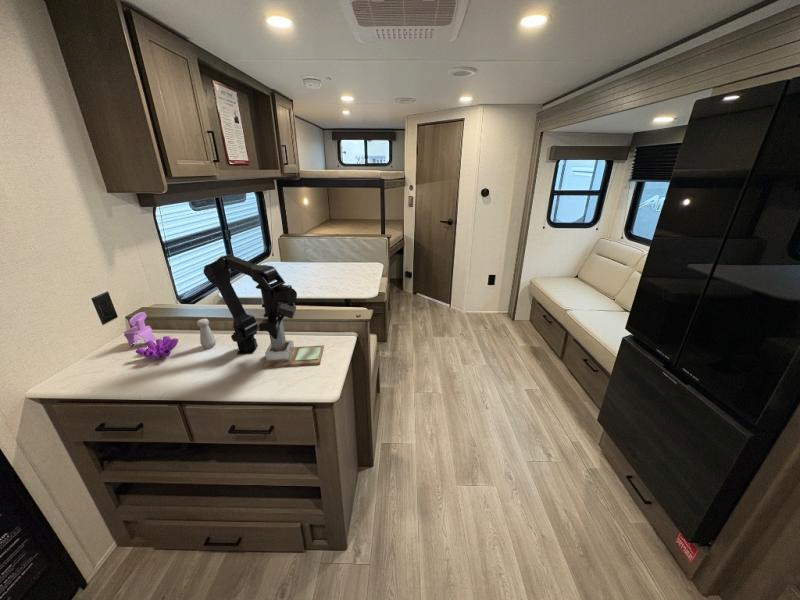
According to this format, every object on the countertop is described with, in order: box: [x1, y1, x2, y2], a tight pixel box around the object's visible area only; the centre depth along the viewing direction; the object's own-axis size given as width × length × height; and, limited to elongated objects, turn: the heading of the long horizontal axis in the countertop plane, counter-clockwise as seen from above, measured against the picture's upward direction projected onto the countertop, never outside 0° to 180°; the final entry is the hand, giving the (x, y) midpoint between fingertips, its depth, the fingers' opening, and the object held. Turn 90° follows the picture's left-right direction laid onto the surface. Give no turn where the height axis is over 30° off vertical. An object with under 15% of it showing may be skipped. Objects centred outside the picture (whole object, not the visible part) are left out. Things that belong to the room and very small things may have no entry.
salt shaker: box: [196, 318, 217, 350], centre depth 132 cm, size 6×6×13 cm
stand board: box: [262, 345, 325, 369], centre depth 127 cm, size 22×13×1 cm, turn 96°
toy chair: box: [123, 311, 158, 347], centre depth 135 cm, size 8×9×15 cm
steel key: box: [268, 319, 287, 348], centre depth 122 cm, size 4×4×10 cm
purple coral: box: [135, 335, 179, 359], centre depth 127 cm, size 11×15×10 cm
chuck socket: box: [264, 340, 295, 363], centre depth 125 cm, size 9×9×4 cm
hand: (277, 335), depth 122 cm, fingers closed on steel key, 4 cm apart
